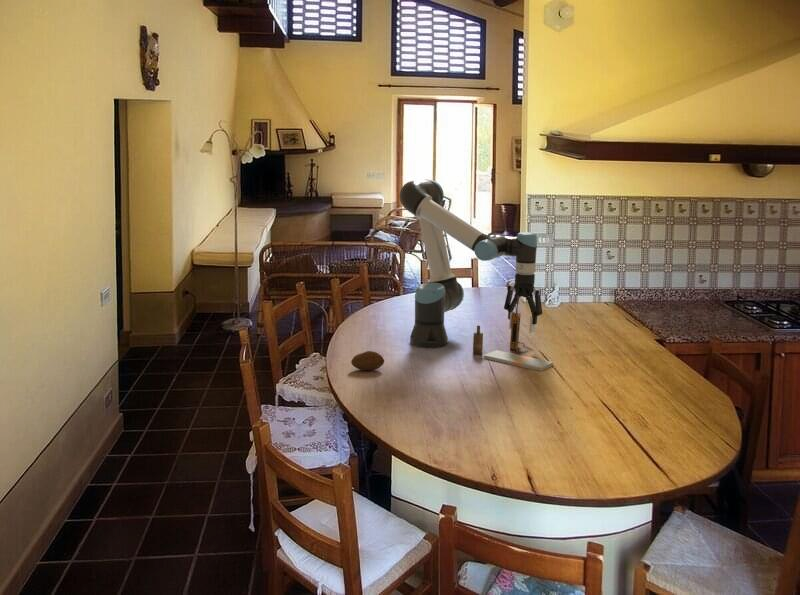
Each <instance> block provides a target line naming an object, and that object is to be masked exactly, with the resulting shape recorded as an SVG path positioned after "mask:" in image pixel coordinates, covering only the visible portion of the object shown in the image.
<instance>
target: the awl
mask: <svg viewBox="0 0 800 595" xmlns="http://www.w3.org/2000/svg"><path fill="white" fill-rule="evenodd" d="M472 339H473V340H472V354H473V355H474V356H482V355H483V346H484V345H483V344H484V333H483V332H481V326H480V324H478V325H477V326H476V332H473V337H472Z"/></svg>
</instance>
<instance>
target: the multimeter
mask: <svg viewBox="0 0 800 595" xmlns="http://www.w3.org/2000/svg"><path fill="white" fill-rule="evenodd" d="M519 301H520V299H519V300H518V301H517V304H516V307H515V313H514V314H513V316H512V326H511V329H510V341H509V349H510V350H514V352H515V353H516V354H517V353H518V354H522V353H527V352H529V351H535V352H536V350H535V349H533V348H531V347H528V346H525V343H523V342H519V340H520V339H519V338H520V326H521V315H522V314H521V313H519V312H518V311H519ZM519 344H523V345H522V346H523V348H526V349H527V350H523V351H517V349H518V346H519Z"/></svg>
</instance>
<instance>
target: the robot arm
mask: <svg viewBox="0 0 800 595" xmlns="http://www.w3.org/2000/svg"><path fill="white" fill-rule="evenodd" d="M444 196H445V193H444V190H443V187H442V186H441V185H440V183H438V182H437V181H435V180H432V179H419V180H412V181H411V180H410V181H408V182H406V183H404V184H403V186H402V187H401V189H400V190H399V196H398V197H399V202H400V204H401V205H402V207H403V208H404V209H405V210H406V211H408V212H409V213H410V214H412V215H413V216H414V217H415V218H417V219H418V222H419V226H420V231H421V236H422V239H423V240H422V241H423V245H424V250H425V254H426V260H427V264H428V270H429V273H430V274H429V275H430V277H429V279H428V281H427V283H425V282H424V283H422V284H420V285H417V287H416V288H415V294H414V325H413V328H412V331H411V334H410V336H409V343H410V344H411V345H412V346H415V347H419V348H426V349H430V348H431V349H432V348H433V349H434V348H442V347H445V346H447V345H448V344H449V336H448V334H447V331H446V330H447V329H446V327H445V313H447V312H448V311H453V310H455V309H456V308H457V307H460V305H461V304H462V302H463V300H464V296H465V292H464V288H463V286H462V284H460V283H459V282H458V280H457V276H456V274H454V273H452V270H451V265H450V260H449V254H448V251H447V245H446V240H445V235H444V233H445V234H447V235H448V236H450V237H451V238H452V239H454V240H456V241H457V242H459V243H461V244H462V245H463V246H465V247H467V249H469V250H471V251H473V252H474V254H475V257H476V258H477V259H478V260H480V261H483V262H486V261H487V262H488V261H492V260H494V259H497V258H500V257H502V256H507V257H514V258H515V273H514V284H508V285H507V287H506V290H507V292H506V296H505V303H504V306H503V309H504V310H505V311H507V319H508V320H509V324H508V325H509V326H508V329H510V330H511V326H512V316H513V314H514V313H516V310H515V309H516V307H517V301H518V300H519V301H520V298H521V297H523V298H525V299H526V300H527V302H528V306H529V309H530V312H531V316H530V317H529V333H530V334H531V333H534V332H535V329H536V328H535V326H536V325H537V324H538V316H541V315H543V306H542V299H541V298H542V296H541V295H542V289H540V288H539V289H537V288H535V280H536V279H535V278H536V274H535V273H536V266H537V265H536V261H537V260H536V259H537V251H538V250H537V249H538V248H537V247H538V240H537V238H538V236H537V234H536V233H534V232H526V231H525V232H524V231H523V232H522V231H521V232H518V233H517V236H510V235H500V234H491V235H488V236H487V234H484V233H483V232H481V231H480V230H478V229H477V228H475V227H474V226H472V225H470V224H469V223H468V222H466V221H465V220H463V219H462V218H460V217H458V216H457V215H455V214H454V213H452V212H451V211H449V210H447V209H446V208H445V207H443V206H442V203H443V200H444ZM514 290H515V293H514ZM513 294H514V295H513ZM533 295H534V296H533ZM512 298H513V299H512Z"/></svg>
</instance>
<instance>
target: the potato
mask: <svg viewBox="0 0 800 595" xmlns="http://www.w3.org/2000/svg"><path fill="white" fill-rule="evenodd" d="M350 364H351V365H352V366H353V367H354V368H355V369H357V370H360V371H375V370H378V369H380V368H381V367H383V365H384V364H385V360H384V357H383V356H382V355H381V354H379V353H378V352H375V351H371V350H367V351H364V352H362V353H358V354H356V355H355V356H353V357H352V359H351V361H350Z"/></svg>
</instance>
